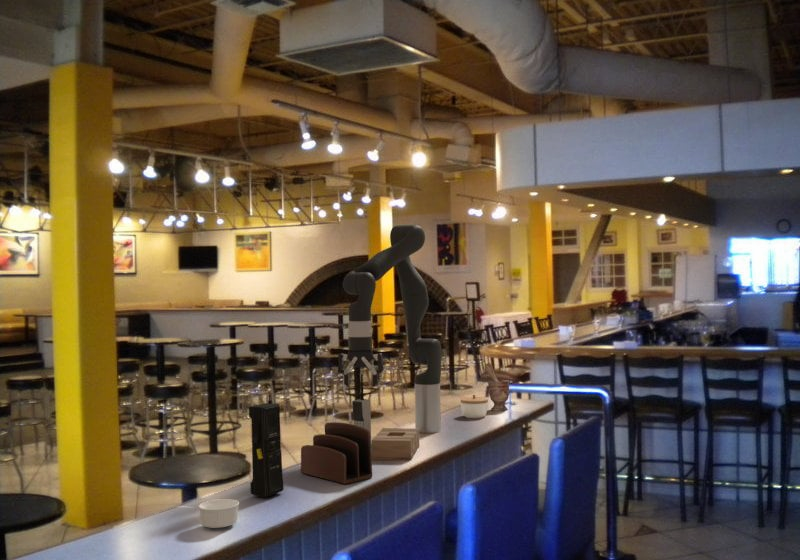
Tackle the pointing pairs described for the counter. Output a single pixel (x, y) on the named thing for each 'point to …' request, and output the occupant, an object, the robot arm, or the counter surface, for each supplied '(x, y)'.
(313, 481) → the counter surface
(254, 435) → the portable radio
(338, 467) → the letter holder
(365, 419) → the vintage mobile phone
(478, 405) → the lidded jar
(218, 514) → the ramekin
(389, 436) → the walnut dock rack
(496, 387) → the mortar and pestle
